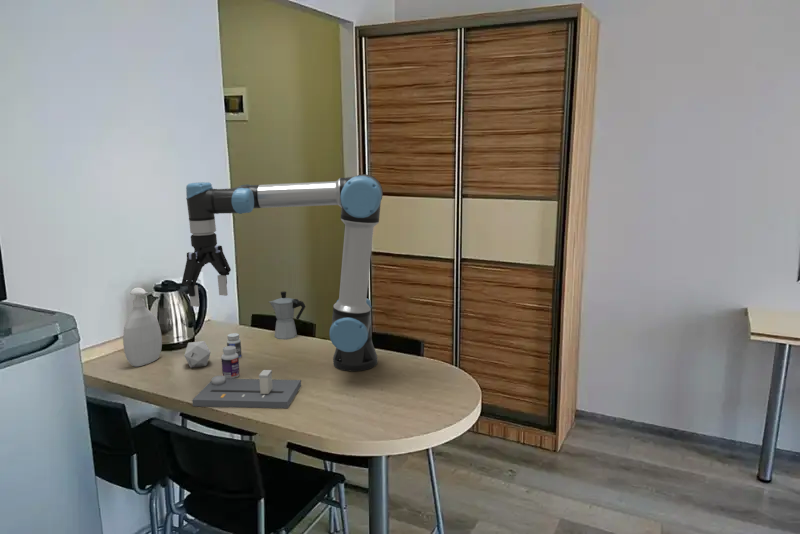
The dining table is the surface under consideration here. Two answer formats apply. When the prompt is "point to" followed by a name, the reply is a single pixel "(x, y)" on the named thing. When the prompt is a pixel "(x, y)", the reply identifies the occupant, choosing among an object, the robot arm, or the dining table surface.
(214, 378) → the console
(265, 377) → the fader knob
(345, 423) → the dining table surface
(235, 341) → the pill bottle
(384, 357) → the dining table surface
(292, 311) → the coffee maker
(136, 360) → the soap bottle
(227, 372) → the pill bottle
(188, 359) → the die
